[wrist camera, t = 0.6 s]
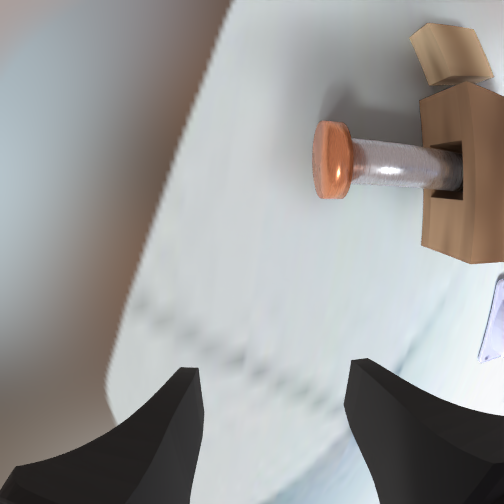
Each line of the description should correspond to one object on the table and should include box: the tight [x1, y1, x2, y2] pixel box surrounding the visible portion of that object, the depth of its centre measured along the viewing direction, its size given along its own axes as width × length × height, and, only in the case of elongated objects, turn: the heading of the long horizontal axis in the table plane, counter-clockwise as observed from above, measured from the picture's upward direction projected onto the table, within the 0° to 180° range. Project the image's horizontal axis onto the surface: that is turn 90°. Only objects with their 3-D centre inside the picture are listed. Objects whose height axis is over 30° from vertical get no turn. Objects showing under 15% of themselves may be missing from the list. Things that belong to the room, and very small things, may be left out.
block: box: [409, 23, 494, 86], centre depth 14 cm, size 5×4×3 cm
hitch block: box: [419, 81, 504, 264], centre depth 15 cm, size 6×10×5 cm, turn 1°
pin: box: [312, 121, 463, 199], centre depth 15 cm, size 12×4×4 cm, turn 91°
